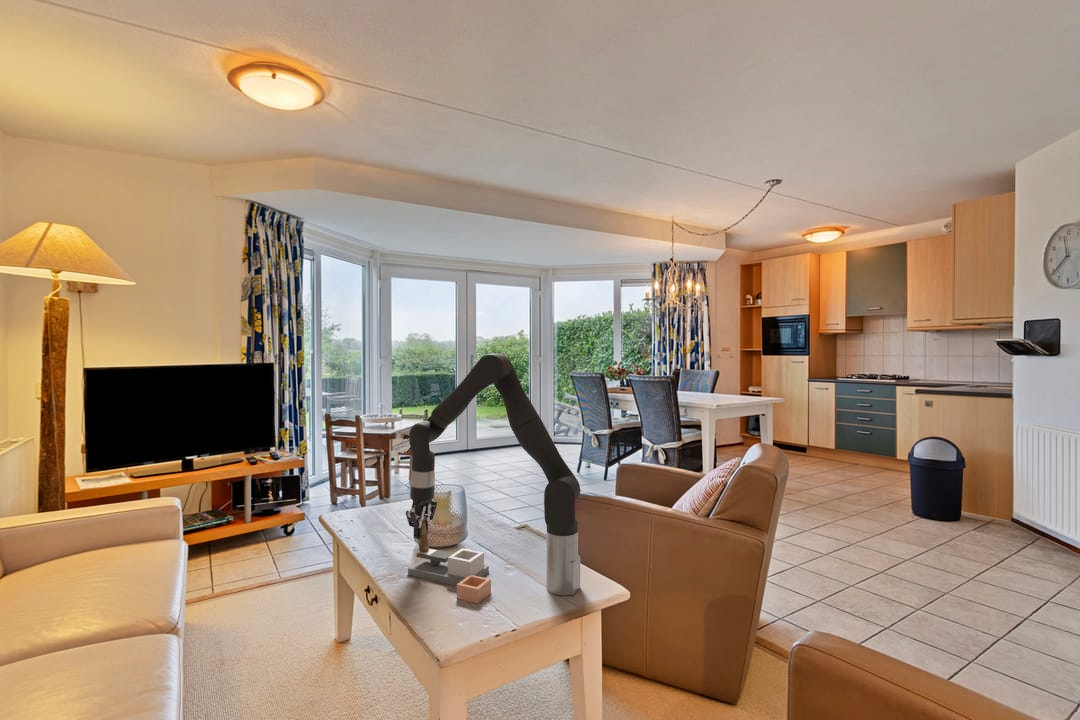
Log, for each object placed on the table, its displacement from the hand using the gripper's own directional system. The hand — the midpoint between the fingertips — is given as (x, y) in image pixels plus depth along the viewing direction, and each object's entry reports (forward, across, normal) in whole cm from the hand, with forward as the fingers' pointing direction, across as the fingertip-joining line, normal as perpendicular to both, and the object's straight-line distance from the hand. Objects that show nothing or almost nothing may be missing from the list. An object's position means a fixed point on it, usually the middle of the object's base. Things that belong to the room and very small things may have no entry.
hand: (420, 536), depth 168 cm
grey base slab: (+10, 0, -11) cm, 15 cm away
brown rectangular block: (+4, 0, -2) cm, 5 cm away
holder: (+9, -9, -26) cm, 29 cm away
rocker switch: (+5, 0, -6) cm, 8 cm away
